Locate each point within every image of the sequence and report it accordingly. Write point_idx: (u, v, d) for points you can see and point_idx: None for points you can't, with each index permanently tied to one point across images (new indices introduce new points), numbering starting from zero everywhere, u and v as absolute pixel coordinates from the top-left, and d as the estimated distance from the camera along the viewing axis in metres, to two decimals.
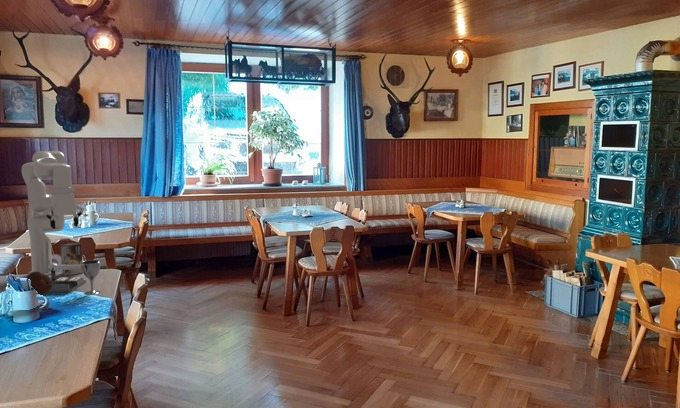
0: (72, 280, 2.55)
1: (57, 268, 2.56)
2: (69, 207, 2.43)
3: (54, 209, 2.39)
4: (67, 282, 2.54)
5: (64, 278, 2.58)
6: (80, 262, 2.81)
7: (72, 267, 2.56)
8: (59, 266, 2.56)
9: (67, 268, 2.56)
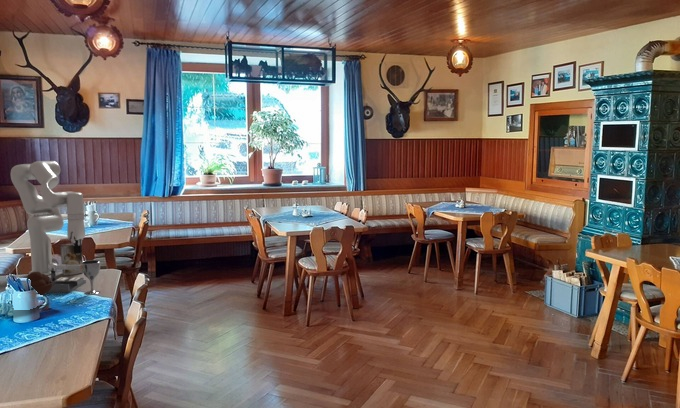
0: (72, 280, 2.55)
1: (57, 268, 2.56)
2: (83, 231, 2.64)
3: (76, 234, 2.58)
4: (67, 282, 2.54)
5: (64, 278, 2.58)
6: (80, 262, 2.81)
7: (72, 267, 2.56)
8: (59, 266, 2.56)
9: (67, 268, 2.56)
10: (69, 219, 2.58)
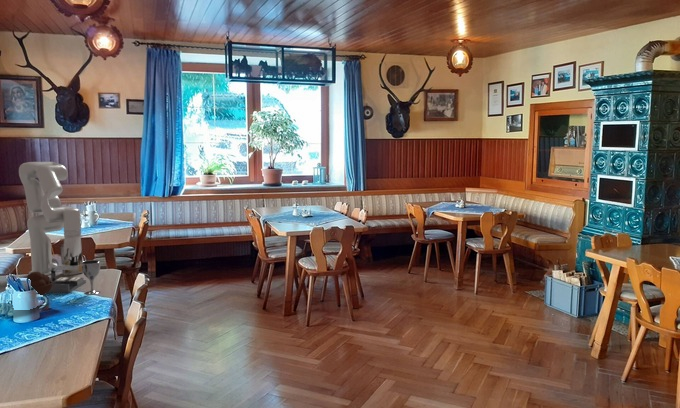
0: (72, 280, 2.55)
1: (56, 268, 2.55)
2: (79, 247, 2.60)
3: (73, 251, 2.54)
4: (67, 282, 2.54)
5: (64, 278, 2.58)
6: (80, 262, 2.81)
7: (71, 268, 2.55)
8: (58, 266, 2.55)
9: (66, 268, 2.55)
10: (66, 235, 2.54)
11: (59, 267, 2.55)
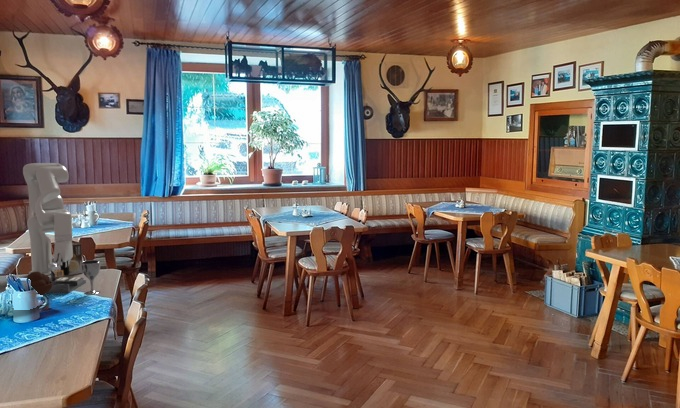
0: (72, 280, 2.55)
1: (51, 269, 2.54)
2: (70, 252, 2.51)
3: (64, 256, 2.45)
4: (67, 282, 2.54)
5: (64, 278, 2.58)
6: (80, 262, 2.81)
7: (54, 271, 2.48)
8: (51, 267, 2.53)
9: (53, 271, 2.50)
10: (56, 240, 2.45)
11: (51, 268, 2.53)
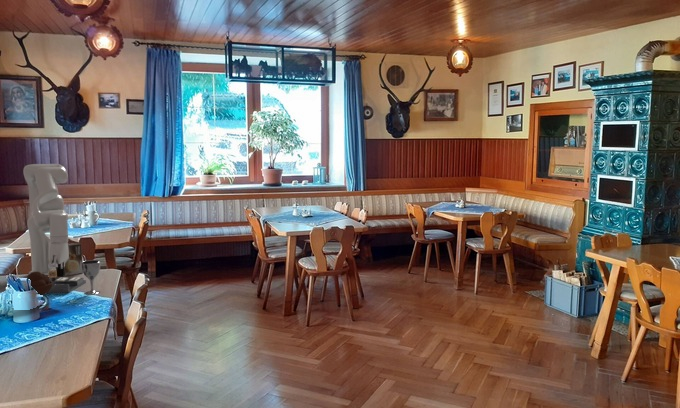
0: (72, 280, 2.55)
1: (50, 269, 2.54)
2: (66, 253, 2.48)
3: (59, 258, 2.42)
4: (67, 282, 2.54)
5: (64, 278, 2.58)
6: (80, 262, 2.81)
7: None
8: (50, 267, 2.53)
9: None
10: (52, 241, 2.42)
11: (50, 268, 2.52)
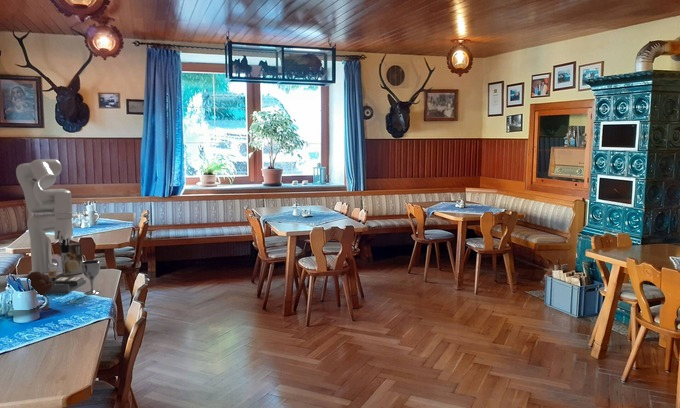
0: (72, 280, 2.55)
1: (50, 269, 2.54)
2: (70, 230, 2.57)
3: (64, 233, 2.51)
4: (67, 282, 2.54)
5: (64, 278, 2.58)
6: (80, 262, 2.81)
7: None
8: (50, 267, 2.53)
9: None
10: (56, 218, 2.51)
11: (49, 268, 2.52)
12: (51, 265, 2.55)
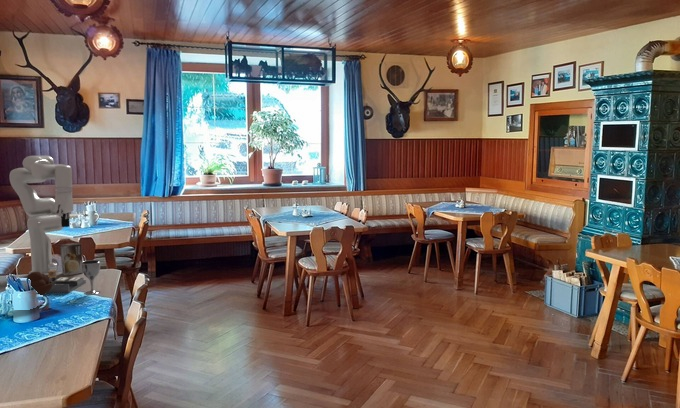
0: (72, 280, 2.55)
1: (50, 269, 2.54)
2: (71, 204, 2.61)
3: (64, 207, 2.55)
4: (67, 282, 2.54)
5: (64, 278, 2.58)
6: (80, 262, 2.81)
7: None
8: (50, 267, 2.53)
9: None
10: (57, 192, 2.55)
11: (49, 268, 2.52)
12: (51, 265, 2.55)
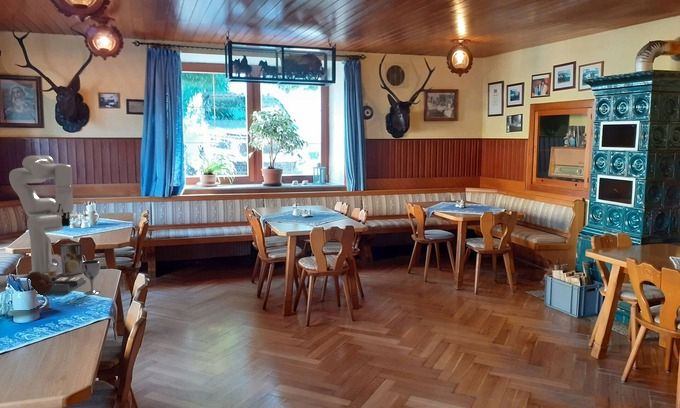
0: (72, 280, 2.55)
1: (50, 269, 2.54)
2: (71, 204, 2.61)
3: (64, 206, 2.55)
4: (67, 282, 2.54)
5: (64, 278, 2.58)
6: (80, 262, 2.81)
7: None
8: (50, 267, 2.53)
9: None
10: (57, 191, 2.55)
11: (49, 268, 2.52)
12: (51, 265, 2.55)
